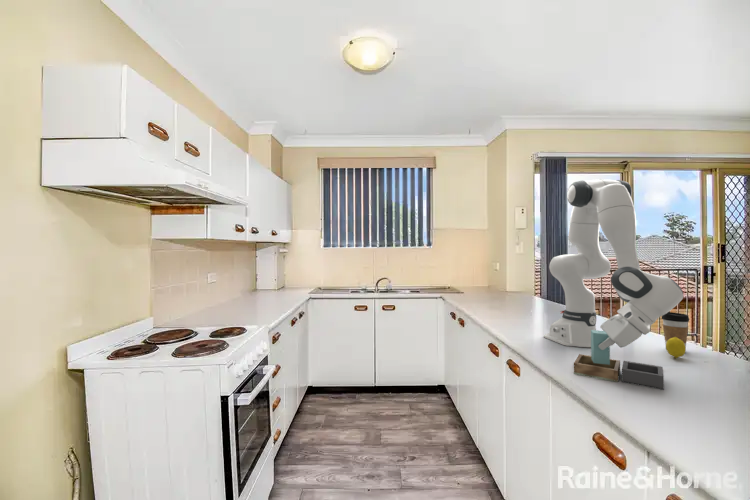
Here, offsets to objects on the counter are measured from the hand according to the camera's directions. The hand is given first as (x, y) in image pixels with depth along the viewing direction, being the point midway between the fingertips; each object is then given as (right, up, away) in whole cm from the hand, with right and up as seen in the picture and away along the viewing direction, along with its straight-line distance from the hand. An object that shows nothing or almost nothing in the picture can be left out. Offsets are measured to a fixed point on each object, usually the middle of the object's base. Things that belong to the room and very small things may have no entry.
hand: (597, 345), depth 115 cm
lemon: (+38, -9, +13) cm, 41 cm away
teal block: (+1, -5, 0) cm, 5 cm away
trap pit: (+9, -9, -7) cm, 15 cm away
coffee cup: (+46, -8, +23) cm, 52 cm away
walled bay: (0, -9, 0) cm, 9 cm away
